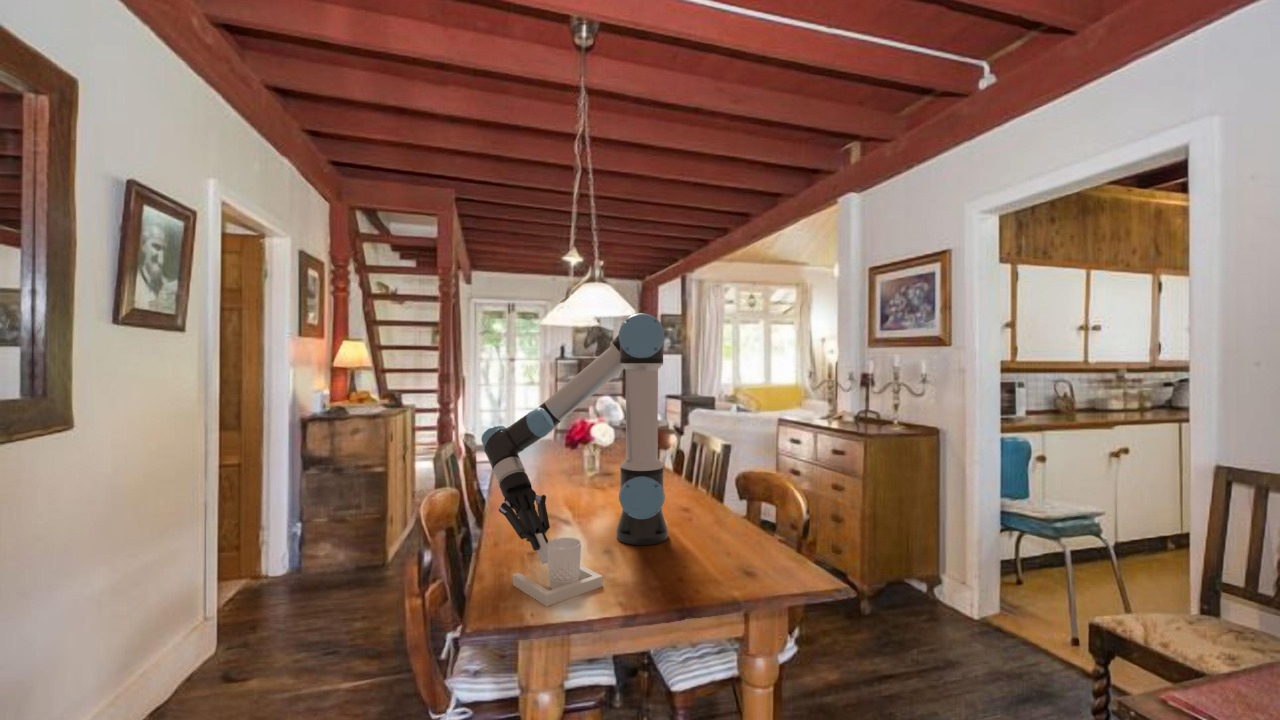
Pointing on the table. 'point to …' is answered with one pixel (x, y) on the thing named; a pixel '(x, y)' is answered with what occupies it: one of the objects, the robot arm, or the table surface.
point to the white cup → (563, 561)
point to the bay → (547, 598)
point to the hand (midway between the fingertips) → (547, 560)
